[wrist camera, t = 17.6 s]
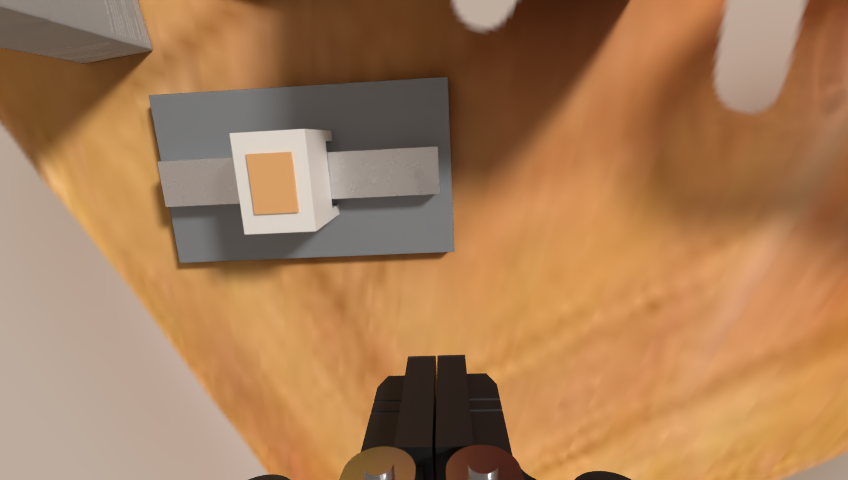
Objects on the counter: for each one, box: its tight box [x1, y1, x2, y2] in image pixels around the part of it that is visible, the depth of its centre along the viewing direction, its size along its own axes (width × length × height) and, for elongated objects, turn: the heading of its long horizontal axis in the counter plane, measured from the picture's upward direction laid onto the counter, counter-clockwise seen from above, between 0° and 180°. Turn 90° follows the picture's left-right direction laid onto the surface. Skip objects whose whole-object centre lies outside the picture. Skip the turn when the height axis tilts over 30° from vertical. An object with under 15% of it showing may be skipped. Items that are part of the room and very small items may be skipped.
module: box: [229, 129, 340, 235], centre depth 33 cm, size 7×5×7 cm
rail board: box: [149, 77, 454, 263], centre depth 37 cm, size 14×24×2 cm, turn 93°
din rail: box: [157, 146, 440, 207], centre depth 35 cm, size 4×22×2 cm, turn 93°
